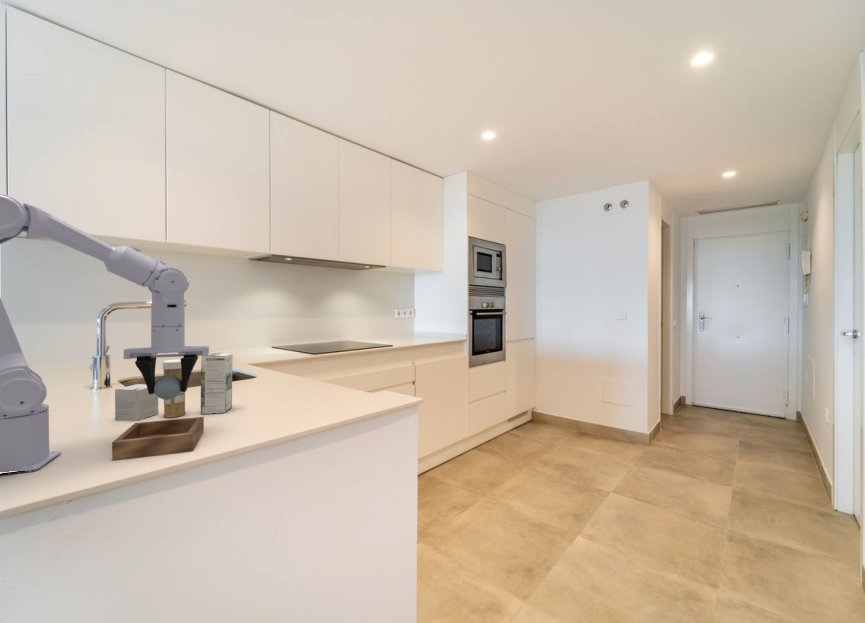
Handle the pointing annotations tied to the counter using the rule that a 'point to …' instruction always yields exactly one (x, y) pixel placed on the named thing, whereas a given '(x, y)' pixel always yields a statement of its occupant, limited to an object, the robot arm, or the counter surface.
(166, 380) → the ball
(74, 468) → the counter surface
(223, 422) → the counter surface
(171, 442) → the tray
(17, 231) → the robot arm
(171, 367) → the sprinkles bottle
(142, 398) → the skincare box
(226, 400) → the syrup box
